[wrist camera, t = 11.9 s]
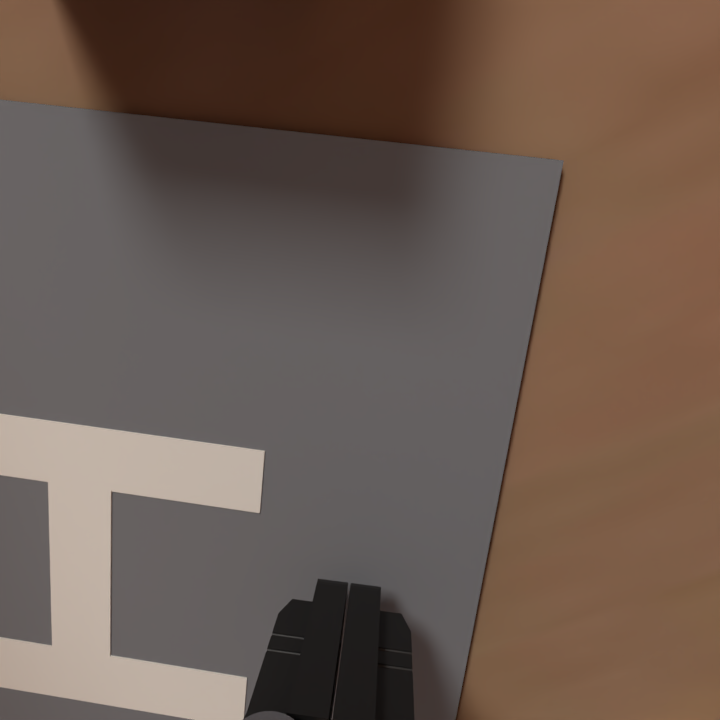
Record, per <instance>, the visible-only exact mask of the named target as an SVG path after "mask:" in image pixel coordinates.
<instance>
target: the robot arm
mask: <svg viewBox="0 0 720 720" xmlns="http://www.w3.org/2000/svg"><path fill="white" fill-rule="evenodd" d="M347 590H348V582H340V581H333V580H326V579H318V580H317V584H316V589H315V593H314V597H313V601H304V600H297V599H292V600H291V601H290V602H289V603H288V604H287V605H286V606H285V607H284V608H283V609H282V610H281V611H280V612H279V613H278V616H277V619H276V622H275V625H274V628H273V631H272V636H271V638H270V641H269V644H268V647H267V652H266V653H265V656H264V660H263V663H262V666H261V669H260V672H259V675H258V678H257V682H256V685H255V688H254V691H253V694H252V697H251V700H250V703H249V707H248V710H247V712H246V715H245V717H244V719H243V720H331V719H332V712H333V719H332V720H414V694H413V672H412V668H413V667H412V641H411V631H410V629H409V627H408V625H407V623H406V621H405V619H404V618H403V616H402V614H401V613H393V612H386V611H380V600H381V587H379V586H371V585H364V584H356V583H351V585H350V592H349V600H348V607H347V615H346V622H345V630H344V637H343V644H342V635H343V626H344V617H345V608H346V599H347ZM341 644H342V652H341ZM340 652H341V659H340ZM339 660H340V667H339ZM338 668H339V674H338ZM337 675H338V682H337ZM336 683H337V689H336ZM335 690H336V697H335ZM334 697H335V704H334ZM333 705H334V711H333Z"/></svg>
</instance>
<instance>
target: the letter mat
mask: <svg viewBox="0 0 720 720" xmlns="http://www.w3.org/2000/svg"><path fill="white" fill-rule="evenodd" d="M562 166H563V161H562V160H553V159H544V158H535V157H525V156H516V155H507V154H498V153H488V152H479V151H470V150H461V149H451V148H442V147H433V146H424V145H414V144H405V143H396V142H386V141H377V140H368V139H359V138H349V137H340V136H331V135H322V134H312V133H303V132H294V131H285V130H275V129H266V128H257V127H248V126H238V125H229V124H220V123H211V122H201V121H192V120H183V119H173V118H164V117H155V116H146V115H136V114H127V113H118V112H109V111H99V110H90V109H81V108H72V107H62V106H53V105H44V104H35V103H25V102H16V101H7V100H0V720H243V719H244V717H245V715H246V712H247V710H248V707H249V703H250V700H251V697H252V694H253V691H254V688H255V685H256V682H257V678H258V675H259V672H260V669H261V666H262V663H263V660H264V656H265V653H266V652H267V647H268V644H269V641H270V638H271V636H272V631H273V628H274V625H275V622H276V619H277V616H278V613H279V612H280V611H281V610H282V609H283V608H284V607H285V606H286V605H287V604H288V603H289V602H290V601H291V600H292V599H297V600H304V601H313V597H314V593H315V589H316V584H317V580H318V579H326V580H333V581H340V582H348V590H347V599H346V608H345V617H344V626H343V635H342V644H343V637H344V630H345V622H346V615H347V607H348V600H349V592H350V585H351V583H356V584H364V585H371V586H379V587H381V600H380V611H386V612H393V613H401V614H402V616H403V618H404V619H405V621H406V623H407V625H408V627H409V629H410V631H411V641H412V667H413V668H412V672H413V694H414V720H456V715H457V710H458V705H459V700H460V694H461V689H462V684H463V679H464V674H465V669H466V663H467V658H468V653H469V648H470V643H471V637H472V632H473V627H474V622H475V617H476V612H477V606H478V601H479V596H480V591H481V586H482V580H483V575H484V570H485V565H486V560H487V555H488V549H489V544H490V539H491V534H492V529H493V524H494V518H495V513H496V508H497V503H498V498H499V492H500V487H501V482H502V477H503V472H504V467H505V461H506V456H507V451H508V446H509V441H510V436H511V430H512V425H513V420H514V415H515V410H516V404H517V399H518V394H519V389H520V384H521V379H522V373H523V368H524V363H525V358H526V353H527V348H528V342H529V337H530V332H531V327H532V322H533V316H534V311H535V306H536V301H537V296H538V291H539V285H540V280H541V275H542V270H543V265H544V259H545V254H546V249H547V244H548V239H549V234H550V228H551V223H552V218H553V213H554V208H555V203H556V197H557V192H558V187H559V182H560V177H561V171H562ZM342 644H341V652H342ZM341 652H340V659H341ZM339 667H340V660H339ZM338 674H339V668H338ZM337 682H338V675H337ZM336 689H337V683H336ZM335 697H336V690H335ZM335 697H334V704H335ZM333 711H334V705H333ZM332 719H333V712H332ZM332 719H331V720H332Z"/></svg>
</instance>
